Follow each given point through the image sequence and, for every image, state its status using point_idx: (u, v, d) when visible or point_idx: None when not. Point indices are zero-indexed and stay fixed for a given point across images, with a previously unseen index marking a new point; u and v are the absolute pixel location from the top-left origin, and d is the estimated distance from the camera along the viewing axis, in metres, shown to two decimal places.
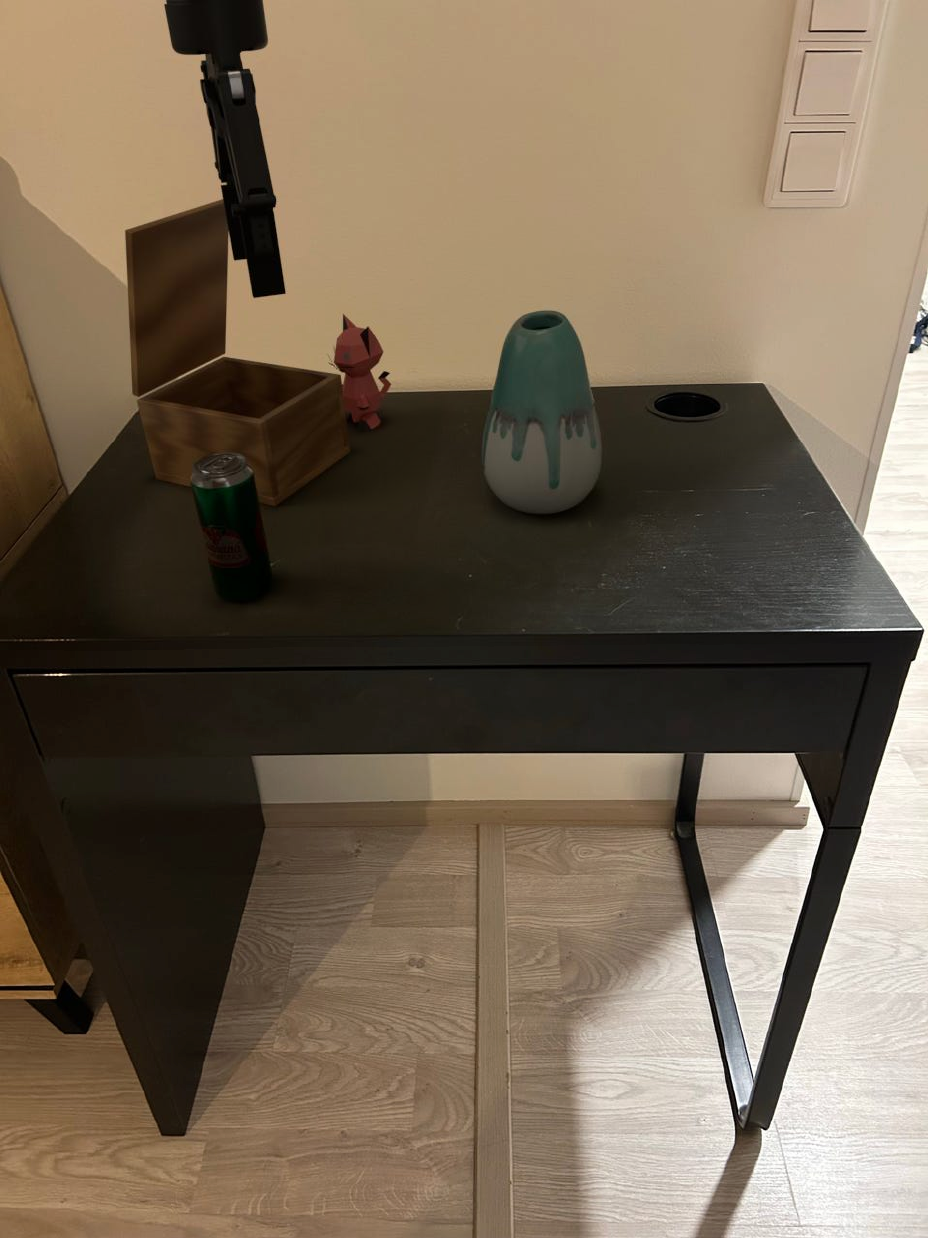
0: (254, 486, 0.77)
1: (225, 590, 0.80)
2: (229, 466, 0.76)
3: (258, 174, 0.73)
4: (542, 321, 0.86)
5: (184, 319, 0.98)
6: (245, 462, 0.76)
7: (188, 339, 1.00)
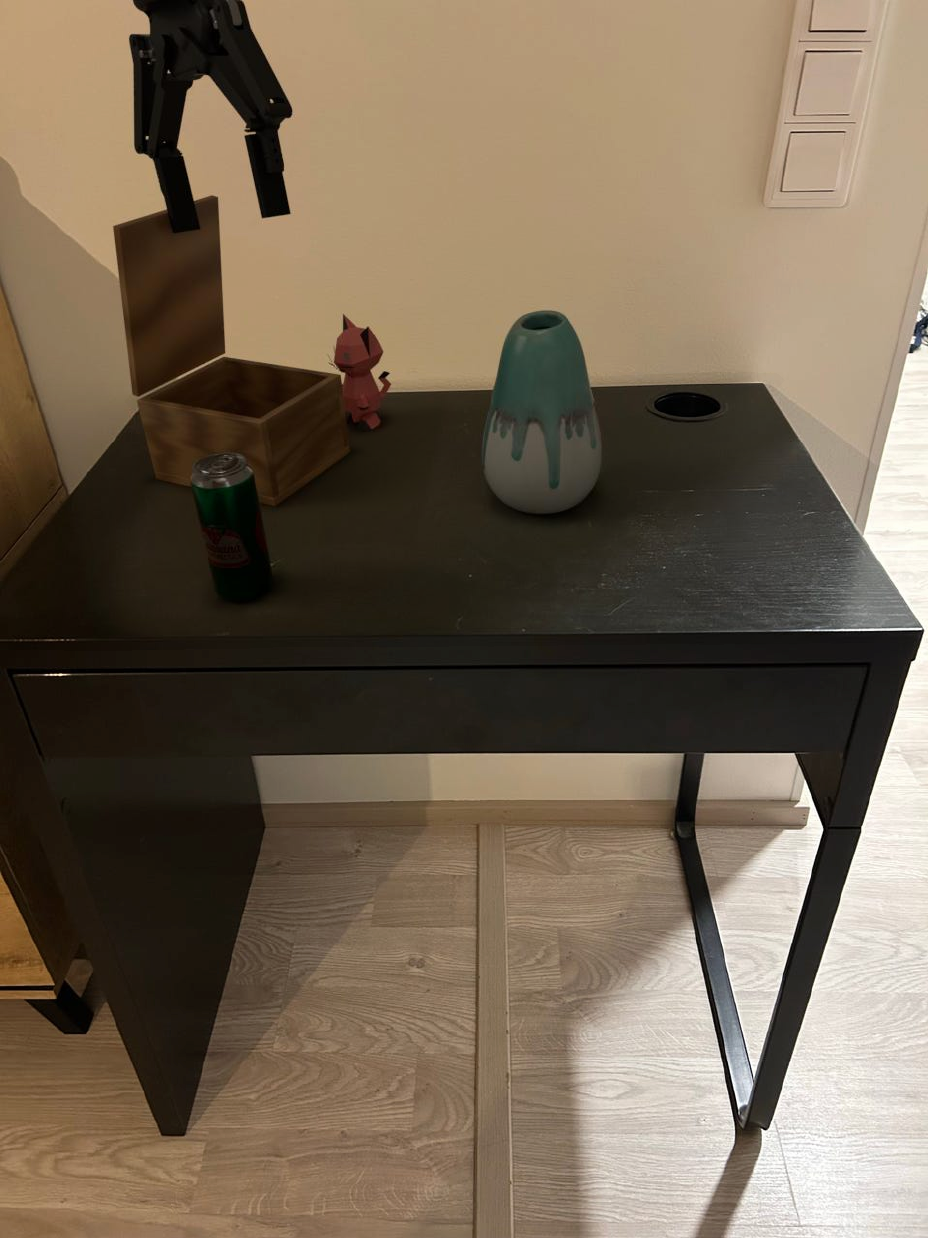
0: (254, 486, 0.77)
1: (225, 590, 0.80)
2: (229, 466, 0.76)
3: (273, 86, 0.78)
4: (542, 321, 0.86)
5: (180, 317, 0.98)
6: (245, 462, 0.76)
7: (186, 338, 1.00)
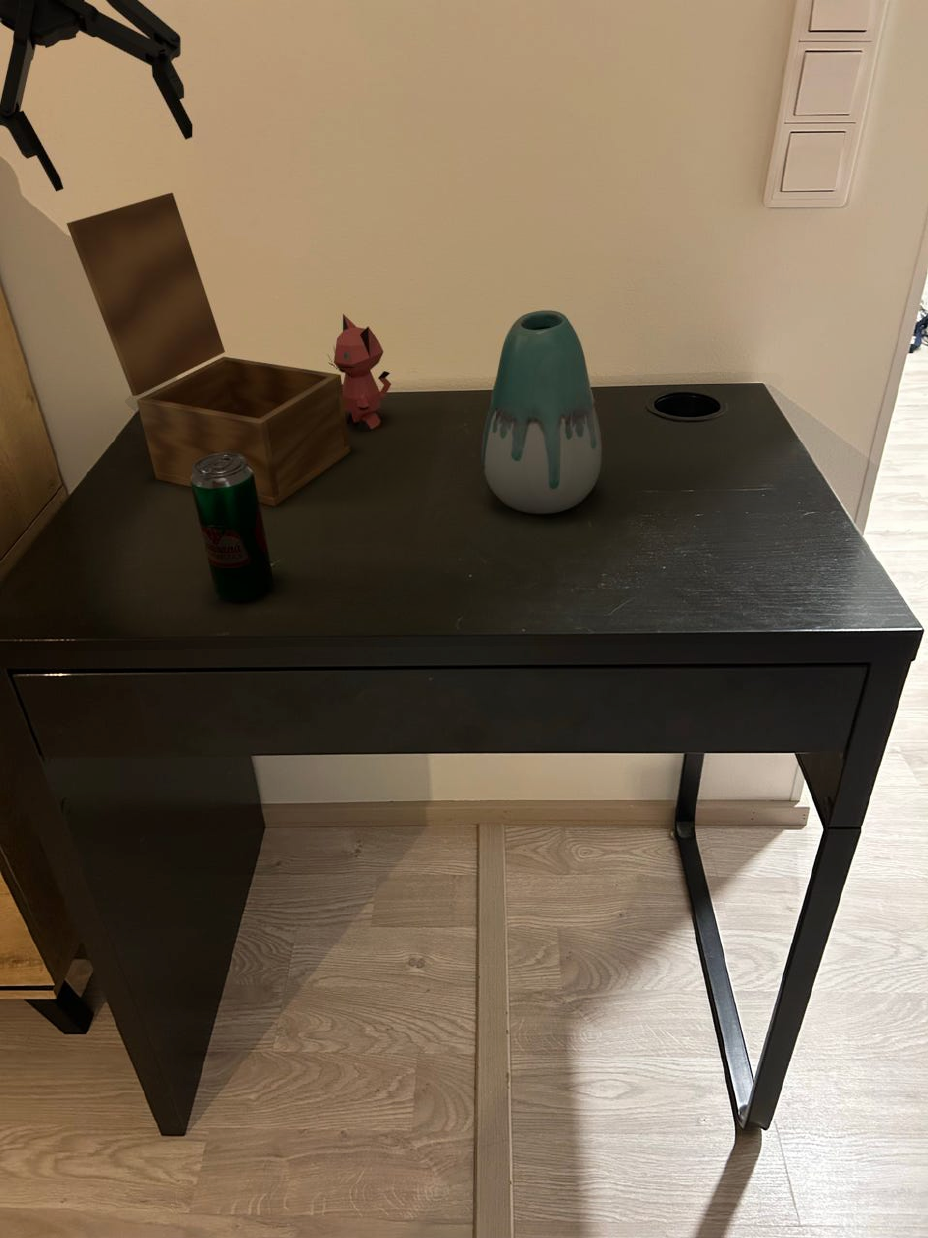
0: (254, 486, 0.77)
1: (225, 590, 0.80)
2: (229, 466, 0.76)
3: None
4: (542, 321, 0.86)
5: (163, 314, 0.98)
6: (245, 462, 0.76)
7: (175, 335, 1.00)
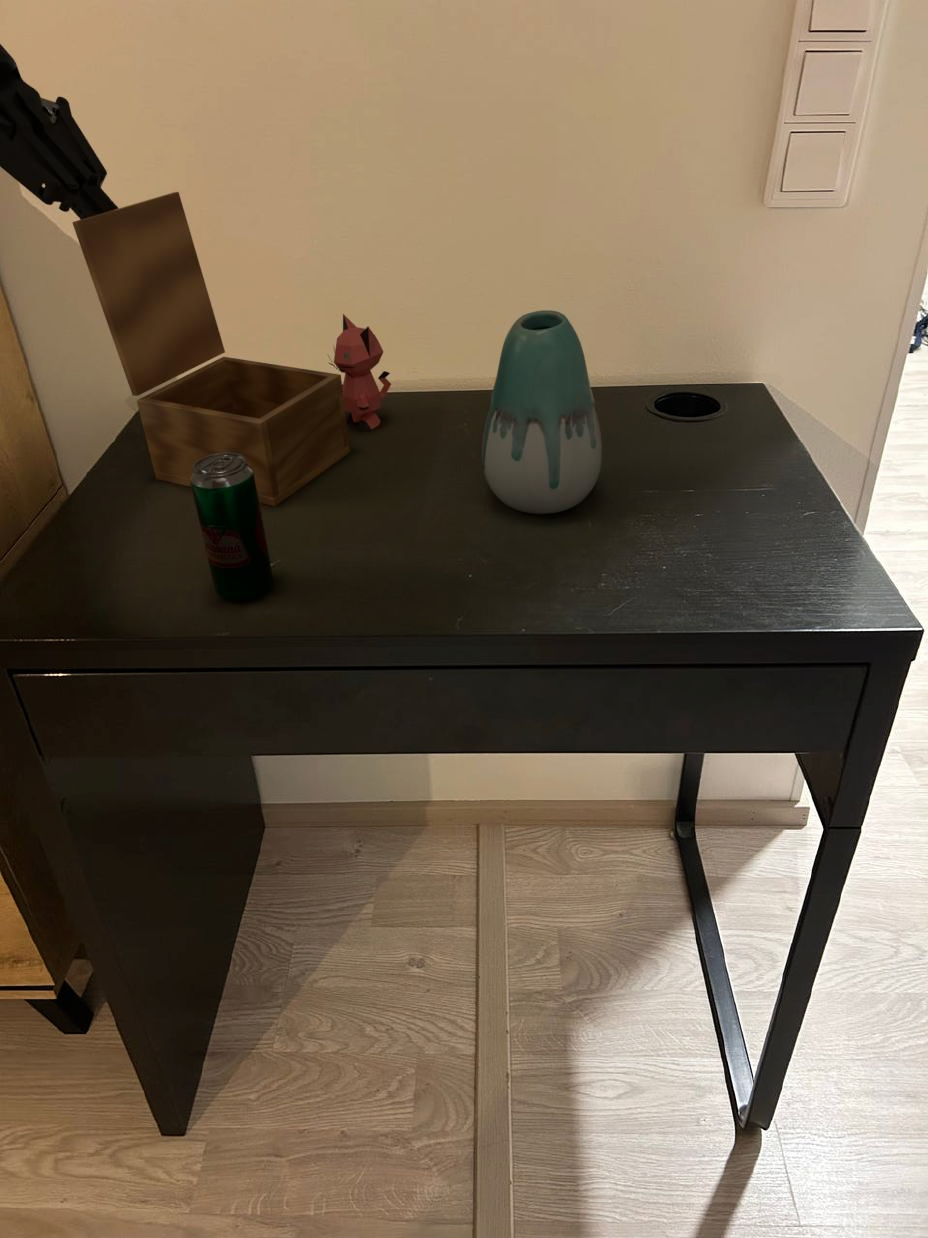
0: (254, 486, 0.77)
1: (225, 590, 0.80)
2: (229, 466, 0.76)
3: None
4: (542, 321, 0.86)
5: (165, 314, 0.98)
6: (245, 462, 0.76)
7: (177, 335, 1.00)
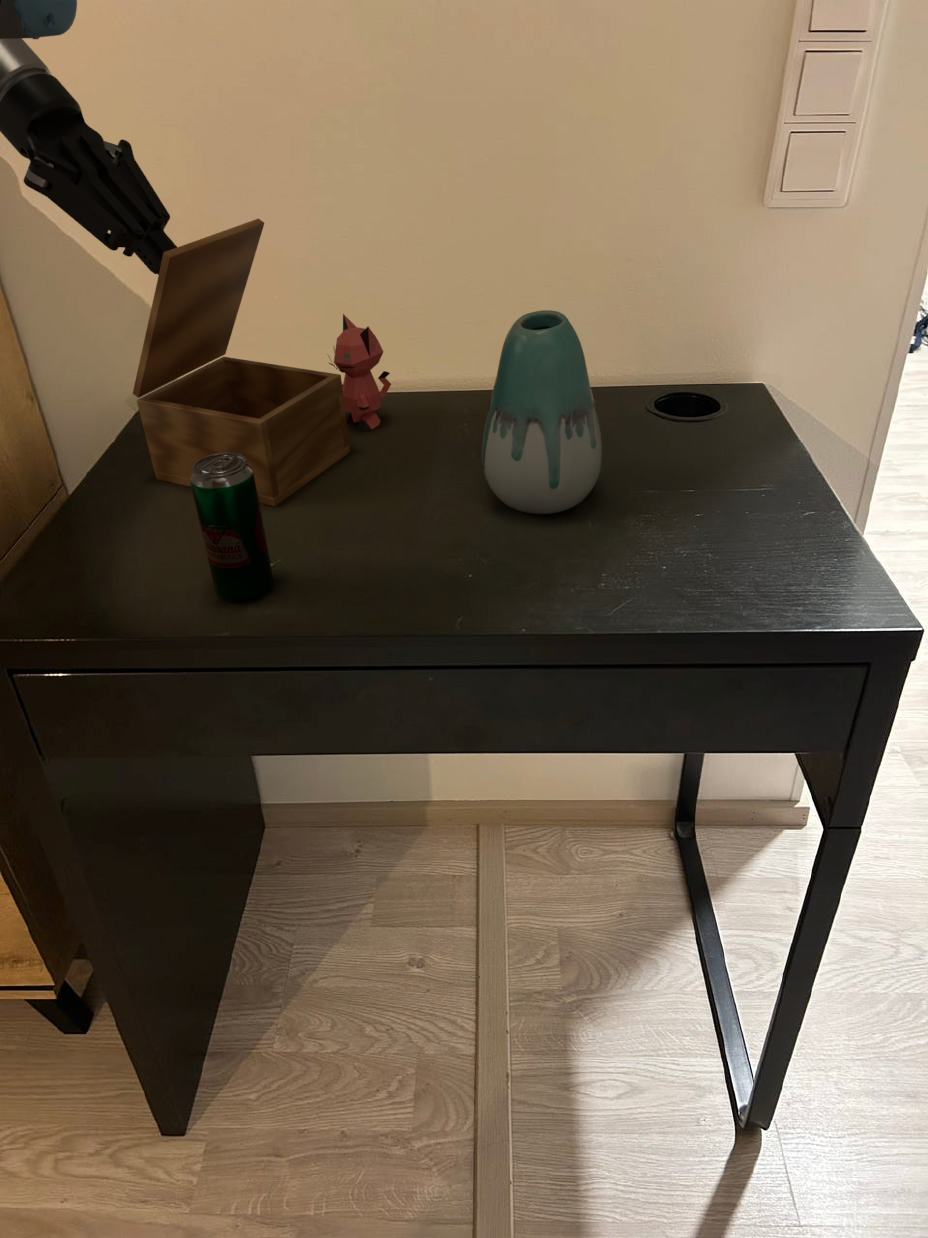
0: (254, 486, 0.77)
1: (225, 590, 0.80)
2: (229, 466, 0.76)
3: None
4: (542, 321, 0.86)
5: (196, 328, 0.97)
6: (245, 462, 0.76)
7: (195, 345, 1.00)
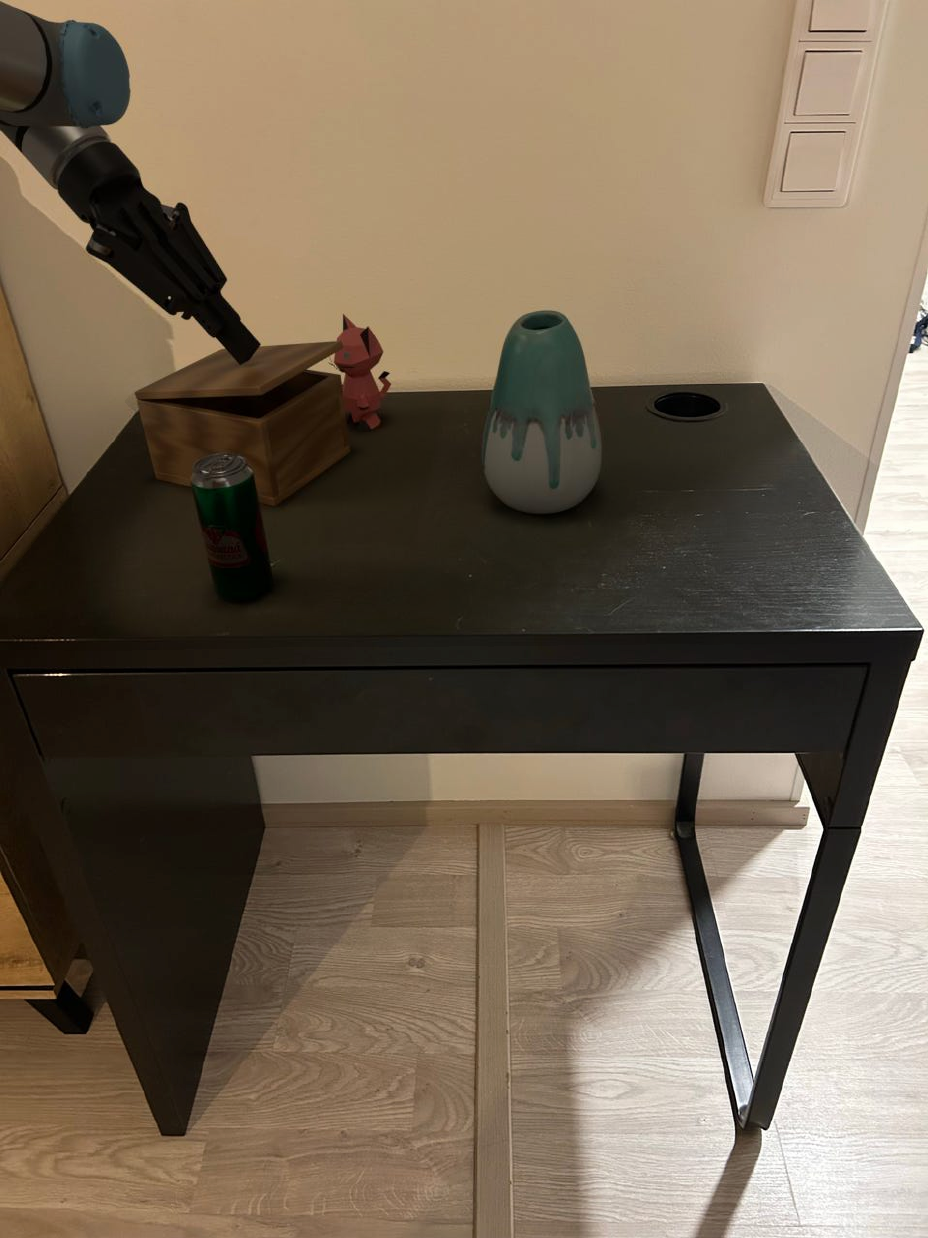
0: (254, 486, 0.77)
1: (225, 590, 0.80)
2: (229, 466, 0.76)
3: None
4: (542, 321, 0.86)
5: None
6: (245, 462, 0.76)
7: None
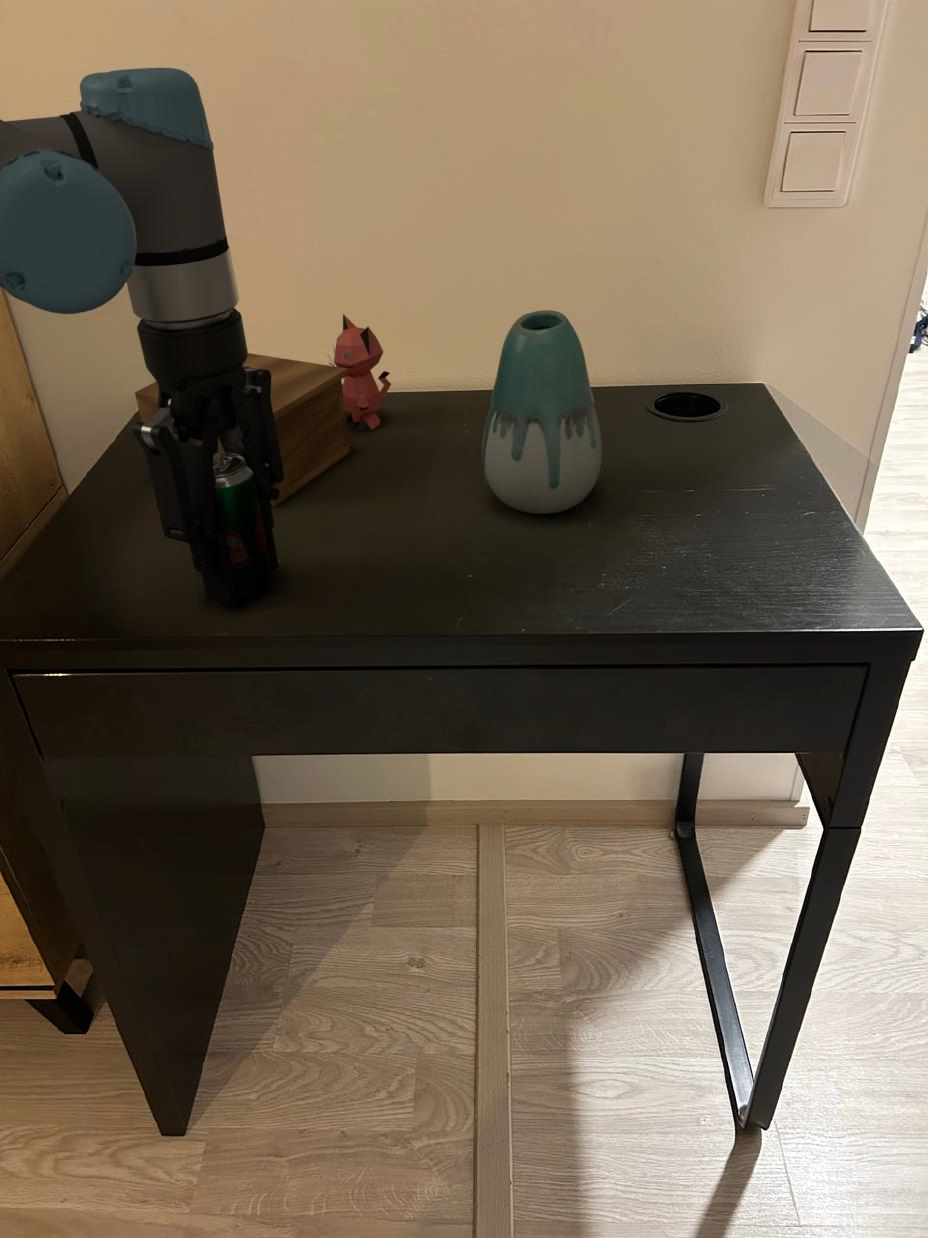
0: (254, 486, 0.77)
1: None
2: (229, 467, 0.76)
3: None
4: (542, 321, 0.86)
5: None
6: (245, 462, 0.76)
7: None
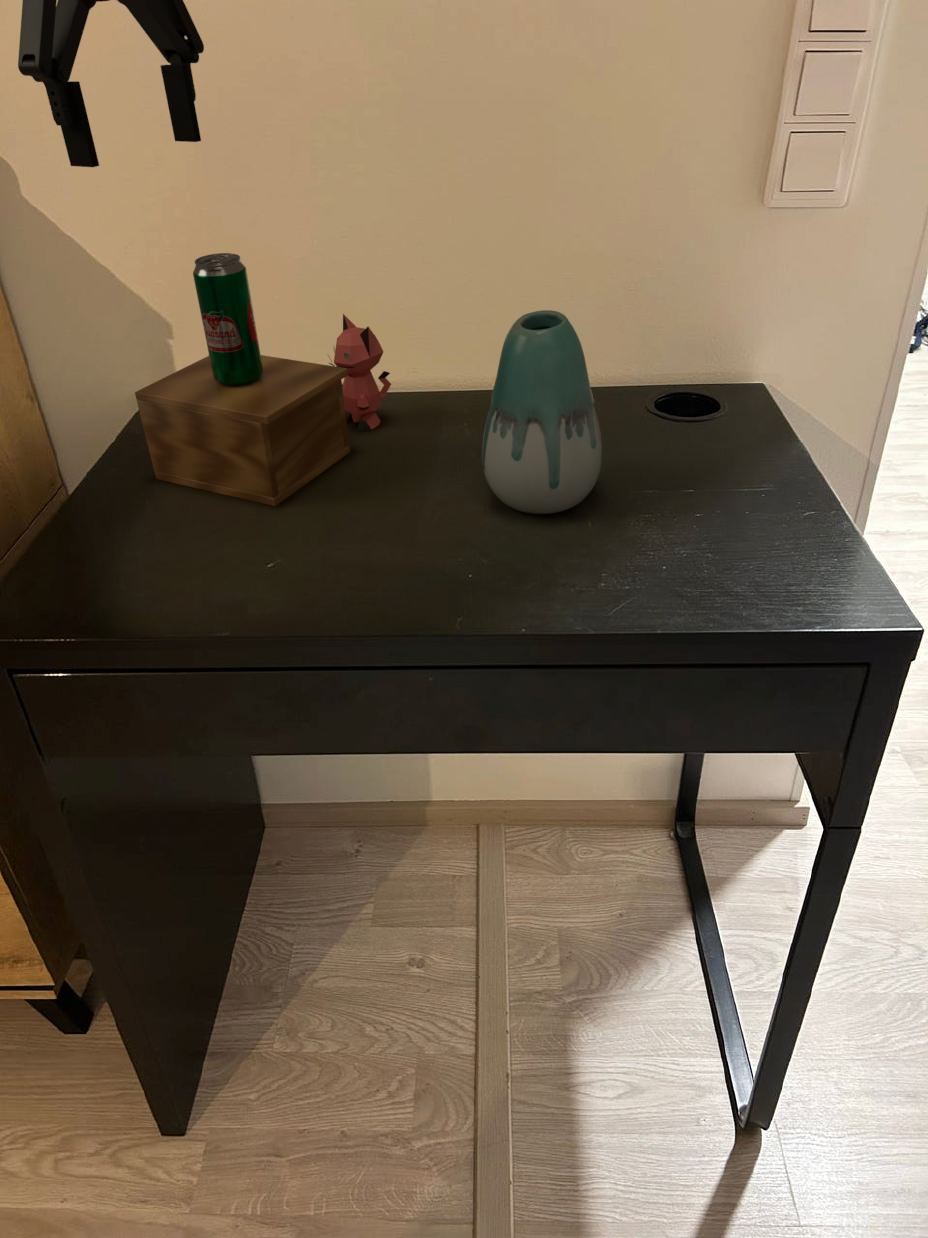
0: (246, 280, 0.92)
1: (222, 374, 0.96)
2: (225, 260, 0.91)
3: None
4: (542, 321, 0.86)
5: None
6: (239, 257, 0.91)
7: None
